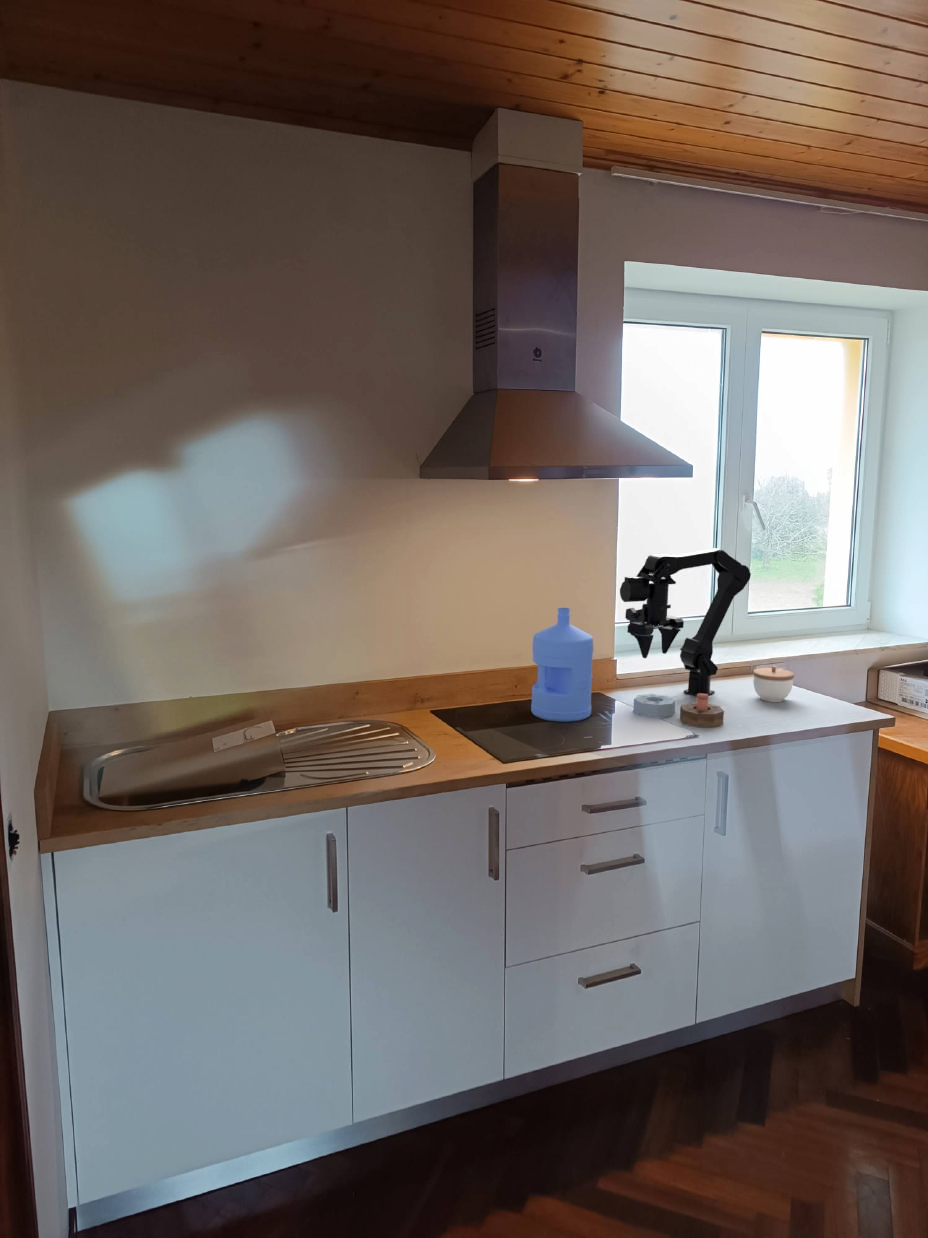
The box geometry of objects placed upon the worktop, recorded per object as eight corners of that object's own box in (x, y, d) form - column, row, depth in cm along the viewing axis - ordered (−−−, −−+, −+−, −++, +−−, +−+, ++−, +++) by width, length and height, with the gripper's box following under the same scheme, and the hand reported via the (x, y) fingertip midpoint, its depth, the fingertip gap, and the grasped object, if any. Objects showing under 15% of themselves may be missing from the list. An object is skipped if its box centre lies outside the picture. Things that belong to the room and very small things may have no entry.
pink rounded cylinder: (699, 719, 220) (700, 692, 219) (709, 721, 218) (711, 695, 217) (692, 721, 218) (694, 694, 217) (702, 723, 216) (704, 697, 215)
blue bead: (640, 705, 233) (640, 692, 232) (677, 709, 228) (677, 697, 228) (630, 714, 224) (631, 701, 223) (668, 719, 220) (669, 706, 219)
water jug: (564, 702, 235) (567, 602, 230) (603, 716, 222) (607, 610, 217) (519, 711, 226) (521, 606, 221) (556, 726, 213) (559, 615, 208)
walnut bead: (695, 713, 225) (695, 700, 224) (729, 722, 218) (730, 708, 217) (673, 721, 218) (673, 707, 218) (707, 729, 211) (708, 716, 210)
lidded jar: (752, 702, 236) (754, 669, 235) (751, 692, 246) (753, 661, 245) (793, 705, 233) (795, 672, 232) (790, 695, 243) (793, 663, 242)
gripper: (652, 594, 248) (650, 646, 251) (612, 600, 235) (610, 655, 238) (686, 598, 240) (683, 652, 242) (646, 605, 227) (643, 662, 230)
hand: (654, 655), depth 239 cm, fingers open, 9 cm apart
